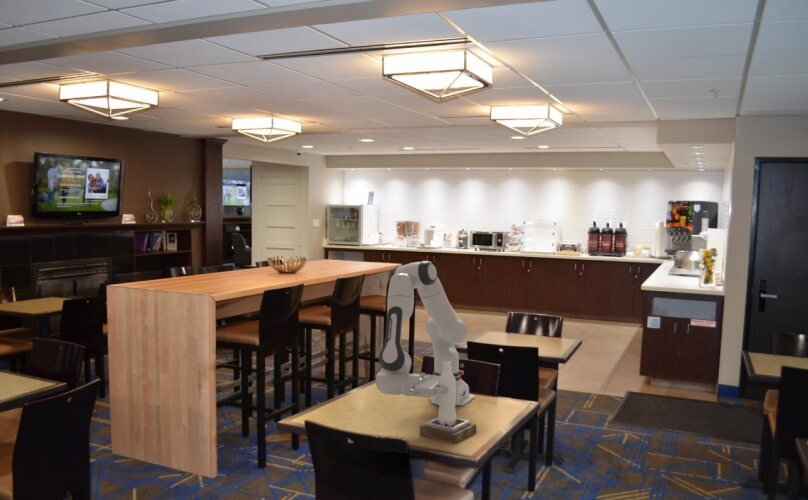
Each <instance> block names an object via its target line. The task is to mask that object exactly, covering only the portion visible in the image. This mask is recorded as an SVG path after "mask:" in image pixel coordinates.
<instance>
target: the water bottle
mask: <svg viewBox="0 0 808 500" xmlns="http://www.w3.org/2000/svg"><path fill="white" fill-rule="evenodd" d="M442 368H443V371H442V374H441V376H440V378H439V380H438V388H448V392H447V393H446V394H445V393H442V394H438V399H439V405H438V414H437V418H438V421H439V423H440V425H443V426H445V425H446V424H447V426H448V427H452V426H454V425H455V423H456V418H457V412H456V405H455V401H456V380H455V378H454V376H453V374H452V372H451V368H452V367H451V362H450V361H444V362H443V367H442Z"/></svg>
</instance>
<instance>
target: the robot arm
mask: <svg viewBox="0 0 808 500" xmlns="http://www.w3.org/2000/svg"><path fill="white" fill-rule="evenodd" d="M388 279H389V286H388V291H387V304H386V305H387V313H386V324H385V332H384V333H385V335H384V343H383V345H382V348H381V350H380V351H379V355H378V360H379V361H378V362H379V364H380V366H381V369H380V371H379V372H378V373H377V374H376V376H375V384H376V388H377V390H378V391H379V392H380V393H382V394H384V395H393V396H400V395H402V396H406V397H415V398H416V397H417V398H419V397H420V398H427V399H429V401H430V403H431V404H433V405H436V406H439V399H438V394H442V393H445V394H446V393H447V392H448V388H438V380H439V378H440V376H441V374H442V371H443V368H442V367H443V362H444V361H450V362H451V367H452V368H451V372H452V374H453V376H454V378H455V380H456V401H455V406H465V405H467V404H468V403H469V402H470V401H472V400H473V399H474V398H475V395H474V394H472V393H470V387H469V385H468V384H467V383H466V382H465V381H464V380H463V379H462V376H463V375H464V370H461V369H459V367H460V366H459V363H460V361H459V360H460V355H459V352H458V351H457V349H456V347H455V344H462V343H464V342H465V341H467V338H468V337H469V333H470V331H469V327H468V325H467V324H466V323H465V322H464V321H463V320H462V318H460V317H459V315H458V314H457V312H456V311H455V310H454V308H453V307H452V305H451V303H450V301H449V299H448V297H447V294H446V292H445V289H444V286H443V285H442V282H441V281H440V278H439V277H438V271H437V267H436V265H435V264H434V263H433V262H432V261H429V260H422V261H415V262H410V263H406V264H404V265H399V266H396V267H394V268H392V269H391V271H390V272H389V276H388ZM414 289H417V293H418V295H419V297H420V300H421V303H422V305H423V307H424V309H425V312H426V313H427V314H428V315H429V316H430V317H428V319H427V320H426V323H425V330H426V333H427V334H428V336H429V338H430V342H431V346H432V349H433V356H434V364H433V365H434V369H433V374H428V373H427V374H426V373H425V372H419V373H411V372H410V371H411V367H412V357H411V356H410V354H409V353H407V352H406V351H405V350H403V347H402V343H401V341H402V333H403V332H402V329H403V324H404V323H405V321H406V320H408V319H410V317H412V315H413V312H414V305H415V290H414Z"/></svg>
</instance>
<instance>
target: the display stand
mask: <svg viewBox="0 0 808 500" xmlns="http://www.w3.org/2000/svg"><path fill="white" fill-rule="evenodd" d="M475 433H477V423H473V422H471V420H468V419H465V418H464V419H463V418H458V417H456V423H455V425H454V426H452V427H448V426H447V424H446V425H445V426H443V425H440V423H439V421H438V417H437V418H434V419H432V420H429V421H428V422H425V424H423V425H421V426H419V435H420V436H423V435H424V437H427V436H428V437H427V438H431V439H436V440H441V441H444V440H445V442H448V441H450V442H449V443H452V442H453V443H452V444H456V443H457V441H458V442H459V440H460V441H462V440H463V439H465V438H467V437H469V436H471V435H473V434H475ZM461 439H462V440H461ZM455 442H456V443H455Z"/></svg>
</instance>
